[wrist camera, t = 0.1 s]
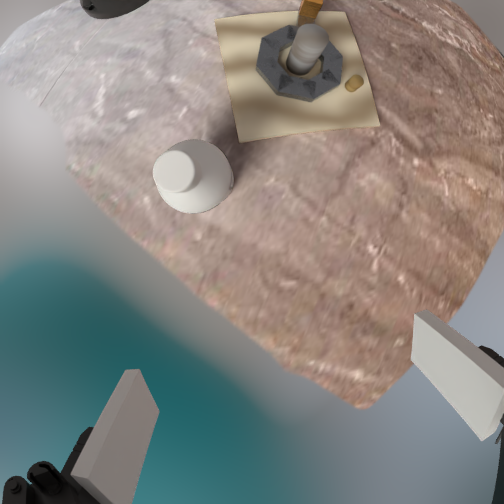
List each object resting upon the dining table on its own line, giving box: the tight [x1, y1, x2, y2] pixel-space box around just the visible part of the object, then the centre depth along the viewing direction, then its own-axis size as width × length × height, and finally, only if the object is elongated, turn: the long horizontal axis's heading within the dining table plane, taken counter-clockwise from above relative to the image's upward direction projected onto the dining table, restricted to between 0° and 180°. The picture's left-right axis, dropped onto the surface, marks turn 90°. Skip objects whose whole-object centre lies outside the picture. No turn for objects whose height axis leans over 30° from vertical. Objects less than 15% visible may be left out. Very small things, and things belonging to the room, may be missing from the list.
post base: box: [214, 11, 380, 143], centre depth 29 cm, size 20×20×10 cm
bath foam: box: [153, 139, 234, 214], centre depth 27 cm, size 7×7×20 cm
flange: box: [256, 0, 343, 102], centre depth 29 cm, size 16×11×6 cm
